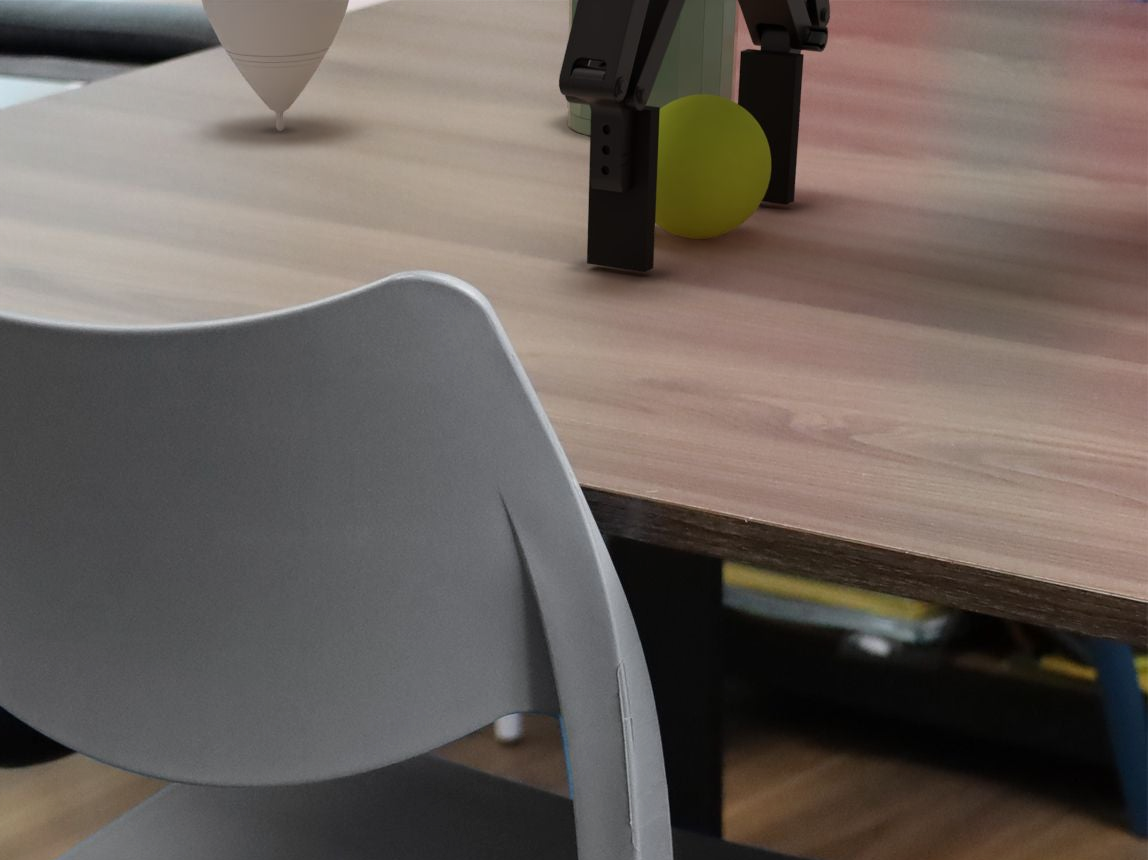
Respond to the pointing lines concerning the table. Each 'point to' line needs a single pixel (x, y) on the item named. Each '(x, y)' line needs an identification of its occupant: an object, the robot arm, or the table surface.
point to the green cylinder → (687, 58)
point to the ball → (709, 166)
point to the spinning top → (276, 43)
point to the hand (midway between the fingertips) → (695, 232)
